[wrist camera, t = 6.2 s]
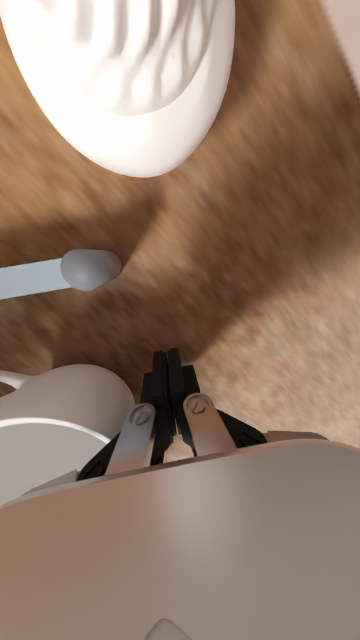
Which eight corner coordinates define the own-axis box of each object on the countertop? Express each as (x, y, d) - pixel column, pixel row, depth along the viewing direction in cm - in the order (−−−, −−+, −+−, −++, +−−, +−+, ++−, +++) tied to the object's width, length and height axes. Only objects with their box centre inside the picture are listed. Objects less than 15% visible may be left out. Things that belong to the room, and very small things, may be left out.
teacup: (163, 386, 14) (165, 462, 9) (104, 440, 15) (77, 531, 10) (41, 303, 11) (-68, 350, 6) (-18, 382, 12) (-145, 474, 7)
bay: (117, 247, 10) (95, 245, 7) (167, 434, 16) (169, 481, 13) (-122, 287, 9) (-272, 306, 6) (21, 464, 15) (-16, 521, 12)
